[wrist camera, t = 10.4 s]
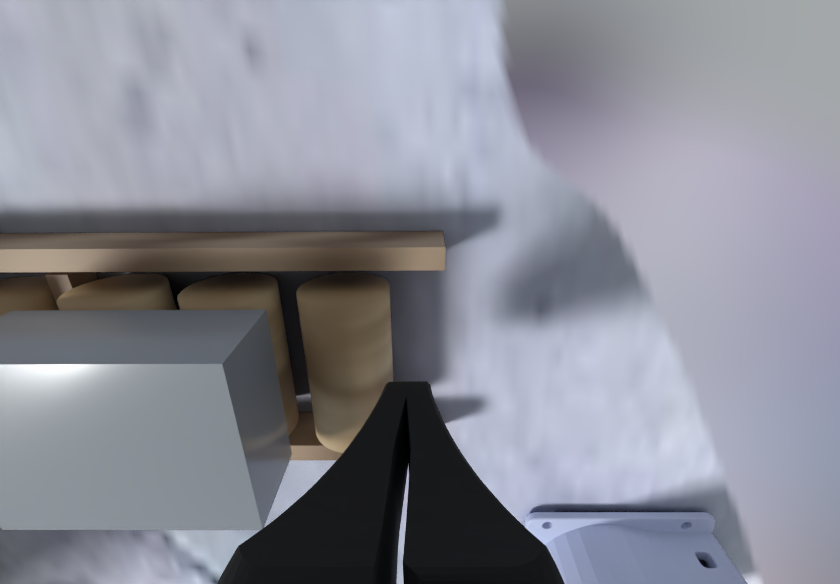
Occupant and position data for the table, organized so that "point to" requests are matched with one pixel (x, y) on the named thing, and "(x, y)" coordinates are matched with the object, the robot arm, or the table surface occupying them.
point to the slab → (139, 420)
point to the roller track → (256, 302)
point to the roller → (26, 295)
